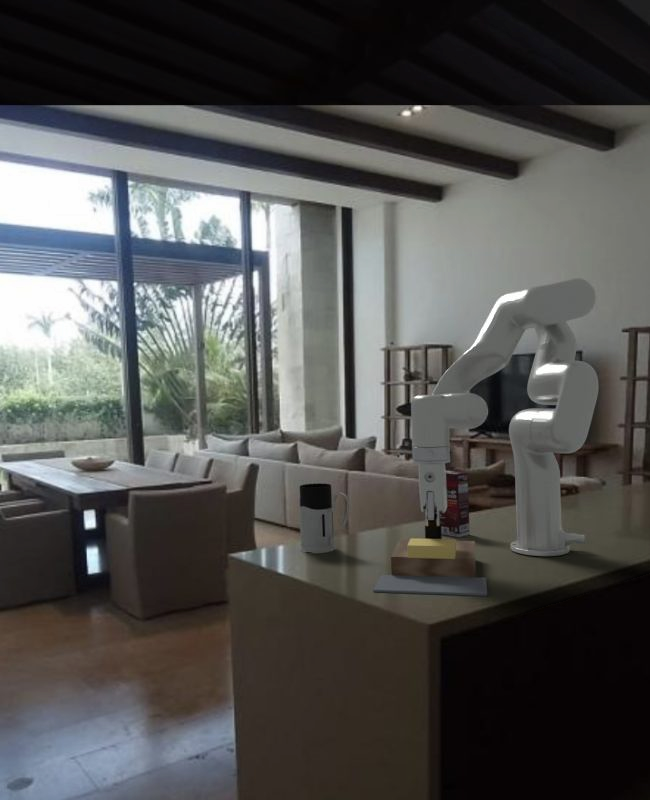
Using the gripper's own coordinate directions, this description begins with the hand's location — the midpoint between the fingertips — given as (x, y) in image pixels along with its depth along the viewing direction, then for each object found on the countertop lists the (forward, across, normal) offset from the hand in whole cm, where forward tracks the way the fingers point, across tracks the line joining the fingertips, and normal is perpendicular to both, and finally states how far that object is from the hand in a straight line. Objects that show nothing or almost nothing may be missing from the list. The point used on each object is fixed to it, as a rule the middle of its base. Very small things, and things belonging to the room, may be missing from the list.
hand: (433, 544), depth 131 cm
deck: (+5, 0, 0) cm, 5 cm away
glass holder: (+5, +14, +26) cm, 30 cm away
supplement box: (+5, +34, -2) cm, 34 cm away
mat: (+5, -12, 0) cm, 13 cm away
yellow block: (+1, -5, 0) cm, 5 cm away
